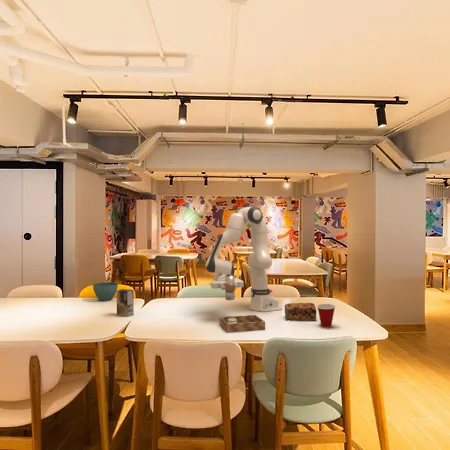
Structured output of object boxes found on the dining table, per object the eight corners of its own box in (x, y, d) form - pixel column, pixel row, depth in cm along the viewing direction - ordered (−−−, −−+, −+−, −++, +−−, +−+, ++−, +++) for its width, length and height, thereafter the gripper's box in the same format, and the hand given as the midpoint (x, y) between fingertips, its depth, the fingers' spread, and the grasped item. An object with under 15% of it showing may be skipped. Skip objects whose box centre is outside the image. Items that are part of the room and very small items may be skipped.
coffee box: (134, 314, 244) (134, 289, 244) (127, 317, 239) (127, 291, 238) (122, 313, 248) (122, 288, 248) (116, 315, 242) (116, 290, 242)
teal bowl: (113, 302, 280) (113, 286, 280) (89, 302, 280) (89, 286, 280) (120, 297, 298) (120, 282, 298) (97, 297, 299) (97, 282, 298)
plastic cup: (312, 324, 223) (312, 304, 223) (327, 322, 227) (327, 302, 227) (324, 329, 213) (324, 308, 213) (339, 327, 217) (339, 306, 217)
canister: (233, 298, 230) (233, 273, 230) (235, 299, 225) (235, 275, 225) (224, 298, 229) (224, 274, 229) (226, 300, 224) (226, 275, 223)
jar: (235, 327, 216) (235, 317, 216) (237, 330, 211) (238, 320, 211) (226, 328, 215) (226, 318, 215) (229, 330, 210) (229, 320, 210)
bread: (313, 317, 240) (314, 301, 240) (316, 321, 230) (316, 305, 230) (284, 316, 242) (284, 301, 242) (285, 321, 231) (285, 304, 231)
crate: (255, 322, 227) (255, 314, 227) (265, 329, 212) (265, 321, 212) (219, 324, 221) (219, 317, 221) (227, 332, 206) (227, 324, 206)
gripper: (208, 278, 237) (213, 282, 223) (239, 277, 242) (246, 280, 228) (208, 288, 237) (213, 292, 223) (239, 286, 242) (246, 290, 229)
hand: (230, 286), depth 226 cm, fingers closed on canister, 6 cm apart
